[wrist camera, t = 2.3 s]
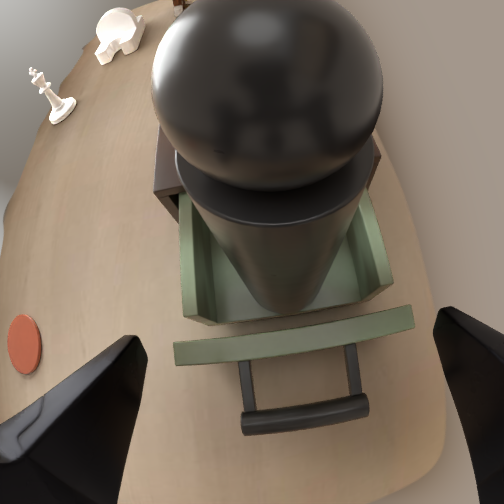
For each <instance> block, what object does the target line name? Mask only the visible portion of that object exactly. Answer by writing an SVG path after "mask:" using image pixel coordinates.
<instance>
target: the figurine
mask: <svg viewBox="0 0 504 504" xmlns="http://www.w3.org/2000/svg"><path fill="white" fill-rule="evenodd" d="M185 1H187V0H173V4H174V16H175V17H176V16H177V17H178V16H179V15H180V14H181V13H182V12H183V9H185V8H186V7H188V6H190V5H191V4H185Z"/></svg>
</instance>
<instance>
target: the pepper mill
mask: <svg viewBox="0 0 504 504" xmlns="http://www.w3.org/2000/svg"><path fill="white" fill-rule="evenodd" d="M151 91H152V101H153V105H154V109H155V113H156V116H157V119H158V121H159V123H160V126H161V128H162V130H163V132H164V133H165V135H166V136H167V138H168V140H169V141H170V143H171V144H172V146H173V147H174V148H175V149H176V151H175V165H176V170H177V174H178V177H179V179H180V182H181V184H182V186H183V187H184V189H185V191H186V192H187V194H188V195H189V197H190V199H191V200H192V202H193V204H194V205H195V207H196V208H197V210H198V212H199V213H200V215H201V216H202V218H203V220H204V221H205V223H206V224H207V226H208V228H209V229H210V231H211V232H212V234H213V235H214V237H215V239H216V240H217V242H218V243H219V245H220V247H221V248H222V250H223V251H224V253H225V254H226V256H227V257H228V259H229V261H230V262H231V264H232V265H233V267H234V268H235V270H236V271H237V273H238V275H239V276H240V278H241V279H242V281H243V282H244V284H245V285H246V287H247V288H248V290H249V292H250V293H251V295H252V296H253V298H254V299H255V300H256V302H257V303H258V304H259V305H261V306H262V307H263V308H265V309H267V310H269V311H271V312H274V313H279V314H290V313H295V312H298V311H300V310H302V309H304V308H306V307H307V306H308V305H310V304H311V303H312V302H313V300H314V299H315V298H316V296H317V295H318V293H319V291H320V289H321V287H322V285H323V283H324V280H325V278H326V276H327V274H328V272H329V270H330V268H331V266H332V264H333V261H334V259H335V257H336V255H337V253H338V251H339V248H340V246H341V244H342V242H343V239H344V237H345V235H346V233H347V230H348V228H349V226H350V223H351V221H352V219H353V216H354V214H355V212H356V209H357V207H358V204H359V202H360V199H361V197H362V195H363V192H364V190H365V187H366V184H367V182H368V179H369V177H370V174H371V171H372V168H373V163H374V143H373V138H372V135H371V134H372V132H373V130H374V127H375V125H376V122H377V119H378V116H379V114H380V110H381V105H382V98H383V76H382V71H381V66H380V61H379V57H378V55H377V52H376V50H375V47H374V45H373V43H372V41H371V39H370V37H369V36H368V34H367V33H366V31H365V29H364V28H363V26H362V25H361V24H360V23H359V22H358V20H357V19H356V18H355V17H354V16H353V15H352V14H351V13H350V12H349V11H348V10H347V9H345V8H344V7H343V6H342V5H340V4H339V3H338V2H337V1H335V0H196V1H195V2H193V3H192V4H191V5H190V6H188V7H187V8H186V9H185V10H184V11H183V12H182V13H181V14H180V15H179V16H178V17H177V18H176V19H175V21H174V22H173V23H172V24H171V26H170V27H169V28H168V29H167V31H166V33H165V35H164V37H163V38H162V40H161V42H160V44H159V47H158V49H157V52H156V55H155V58H154V63H153V69H152V76H151Z"/></svg>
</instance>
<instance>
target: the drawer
mask: <svg viewBox="0 0 504 504" xmlns="http://www.w3.org/2000/svg"><path fill="white" fill-rule="evenodd" d="M179 243H180V270H181V289H182V305H183V316H184V317H186V318H188V319H191V320H194V321H197V322H200V323H203V324H205V325H208V326H214V325H223V324H231V323H239V322H247V321H254V320H262V319H269V318H275V317H282V316H288V315H295V314H301V313H307V312H313V311H318V310H324V309H329V308H335V307H340V306H345V305H350V304H355V303H360V302H365V301H369V300H371V299H372V298H373V297H375V296H376V295H378V294H379V293H381V292H382V291H383V290H385V289H386V288H388V287H389V286H390V285H392V284H393V283H394V281H393V277H392V273H391V269H390V265H389V261H388V257H387V253H386V250H385V246H384V242H383V239H382V235H381V232H380V229H379V225H378V222H377V219H376V216H375V212H374V209H373V206H372V203H371V200H370V197H369V194H368V191H367V189H366V187H365V190H364V192H363V195H362V197H361V199H360V202H359V204H358V207H357V209H356V212H355V214H354V216H353V219H352V221H351V223H350V226H349V228H348V230H347V233H346V235H345V237H344V239H343V242H342V244H341V246H340V248H339V251H338V253H337V255H336V257H335V259H334V261H333V264H332V266H331V268H330V270H329V272H328V274H327V276H326V278H325V280H324V283H323V285H322V287H321V289H320V291H319V293H318V295H317V296H316V298H315V299H314V300H313V302H312V303H311V304H310V305H308V306H307V307H306V308H304V309H302V310H300V311H298V312H295V313H290V314H279V313H274V312H271V311H269V310H267V309H265V308H263V307H262V306H261V305H259V304H258V303H257V302H256V300H255V299H254V298H253V296H252V295H251V293H250V292H249V290H248V288H247V287H246V285H245V284H244V282H243V281H242V279H241V278H240V276H239V275H238V273H237V271H236V270H235V268H234V267H233V265H232V264H231V262H230V261H229V259H228V257H227V256H226V254H225V253H224V251H223V250H222V248H221V247H220V245H219V243H218V242H217V240H216V239H215V237H214V235H213V234H212V232H211V231H210V229H209V228H208V226H207V224H206V223H205V221H204V220H203V218H202V216H201V215H200V213H199V212H198V210H197V208H196V207H195V205H194V204H193V202H192V200H191V199H190V197H189V195H188V194H187V192H182V193H179ZM413 328H415V323H414V318H413V313H412V308H411V305H405V306H401V307H397V308H393V309H389V310H384V311H380V312H376V313H371V314H367V315H362V316H357V317H352V318H347V319H342V320H337V321H332V322H327V323H321V324H316V325H310V326H304V327H298V328H292V329H285V330H279V331H272V332H265V333H257V334H249V335H241V336H233V337H224V338H214V339H204V340H193V341H180V342H174V343H173V348H174V358H175V365H176V366H189V365H205V364H218V363H229V362H238V366H239V374H240V382H241V390H242V398H243V405H244V411H243V412H242V413H241V429H242V433H243V435H244V436H252V435H264V434H274V433H283V432H291V431H298V430H305V429H311V428H317V427H322V426H328V425H333V424H338V423H342V422H347V421H351V420H356V419H360V418H364V417H367V416H368V415H369V401H368V398H367V395H366V394H365V393H362V386H361V378H360V370H359V363H358V356H357V349H356V343H357V342H362V341H366V340H370V339H374V338H379V337H383V336H387V335H391V334H394V333H398V332H402V331H406V330H409V329H413ZM338 346H343V349H344V356H345V363H346V371H347V378H348V386H349V394H350V396H345V397H341V398H336V399H331V400H326V401H321V402H315V403H309V404H303V405H296V406H289V407H282V408H274V409H265V410H257V406H256V398H255V390H254V383H253V375H252V367H251V361H250V360H257V359H265V358H272V357H280V356H286V355H293V354H299V353H305V352H311V351H317V350H322V349H328V348H333V347H338Z"/></svg>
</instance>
